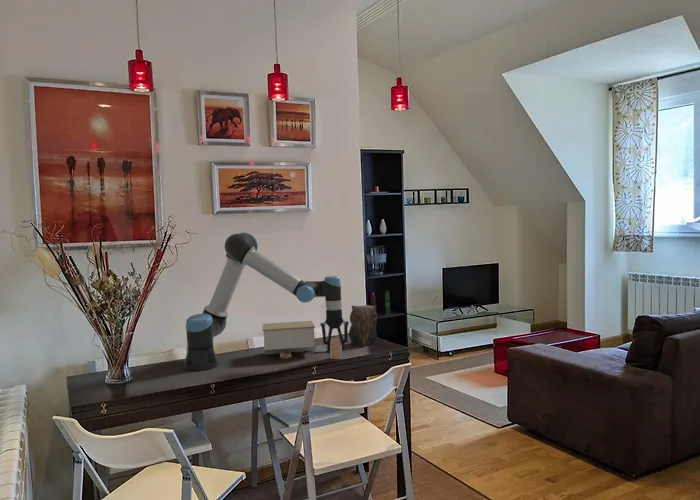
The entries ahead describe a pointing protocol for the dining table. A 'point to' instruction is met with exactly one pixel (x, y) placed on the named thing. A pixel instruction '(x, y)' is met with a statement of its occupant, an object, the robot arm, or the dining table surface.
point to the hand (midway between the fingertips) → (336, 357)
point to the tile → (285, 354)
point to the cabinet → (288, 337)
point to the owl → (363, 325)
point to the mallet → (335, 348)
